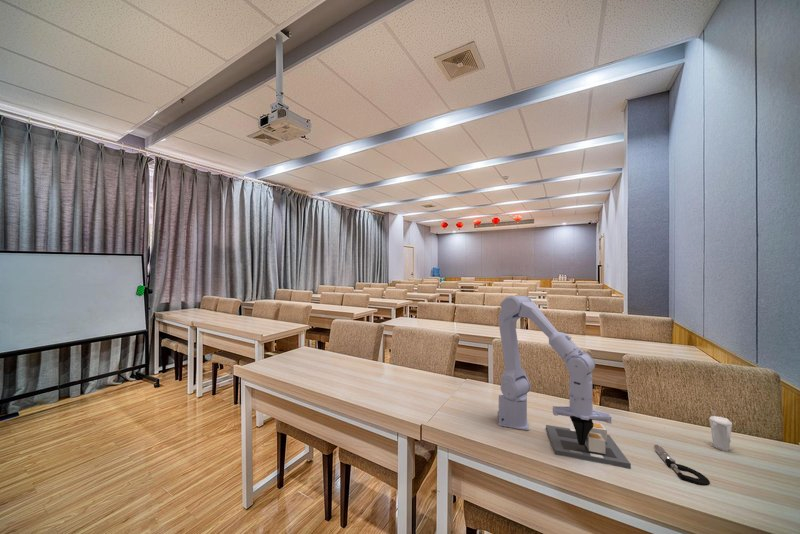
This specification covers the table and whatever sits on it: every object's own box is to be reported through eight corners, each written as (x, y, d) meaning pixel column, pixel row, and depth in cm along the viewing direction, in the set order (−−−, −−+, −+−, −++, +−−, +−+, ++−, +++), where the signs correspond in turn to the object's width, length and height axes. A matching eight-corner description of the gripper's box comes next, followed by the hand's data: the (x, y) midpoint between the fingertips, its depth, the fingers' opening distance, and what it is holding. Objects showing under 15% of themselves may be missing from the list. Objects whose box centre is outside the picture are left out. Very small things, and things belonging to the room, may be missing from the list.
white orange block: (591, 439, 87) (591, 427, 87) (587, 432, 90) (587, 421, 91) (606, 442, 85) (606, 429, 86) (602, 435, 89) (602, 423, 89)
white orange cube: (588, 451, 81) (588, 437, 81) (584, 443, 85) (584, 430, 85) (605, 454, 80) (605, 440, 80) (600, 446, 83) (600, 433, 84)
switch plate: (555, 454, 82) (555, 449, 82) (545, 428, 96) (545, 424, 96) (630, 468, 76) (630, 463, 76) (609, 438, 90) (609, 434, 90)
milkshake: (723, 444, 88) (722, 411, 89) (737, 454, 83) (736, 419, 84) (704, 441, 90) (703, 408, 90) (716, 450, 85) (715, 416, 85)
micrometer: (717, 490, 69) (716, 479, 69) (679, 482, 72) (678, 472, 72) (683, 455, 83) (682, 446, 83) (652, 449, 86) (652, 441, 86)
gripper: (555, 397, 82) (556, 445, 82) (615, 405, 78) (616, 456, 77) (551, 388, 89) (551, 433, 88) (605, 395, 84) (606, 442, 84)
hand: (581, 443), depth 83 cm, fingers closed
